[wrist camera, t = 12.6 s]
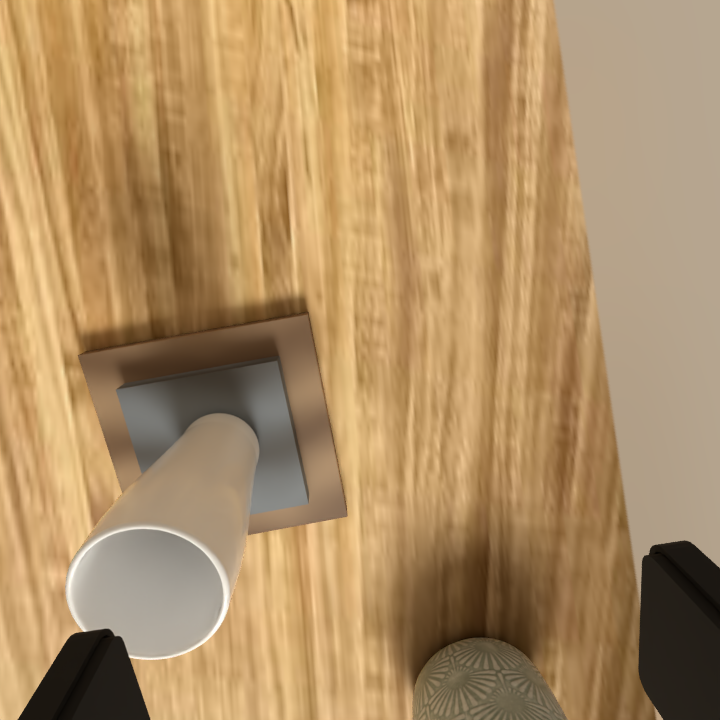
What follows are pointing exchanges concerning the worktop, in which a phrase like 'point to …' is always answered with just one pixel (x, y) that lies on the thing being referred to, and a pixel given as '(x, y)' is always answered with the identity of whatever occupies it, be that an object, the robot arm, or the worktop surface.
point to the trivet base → (217, 353)
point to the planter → (483, 685)
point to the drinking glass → (171, 544)
